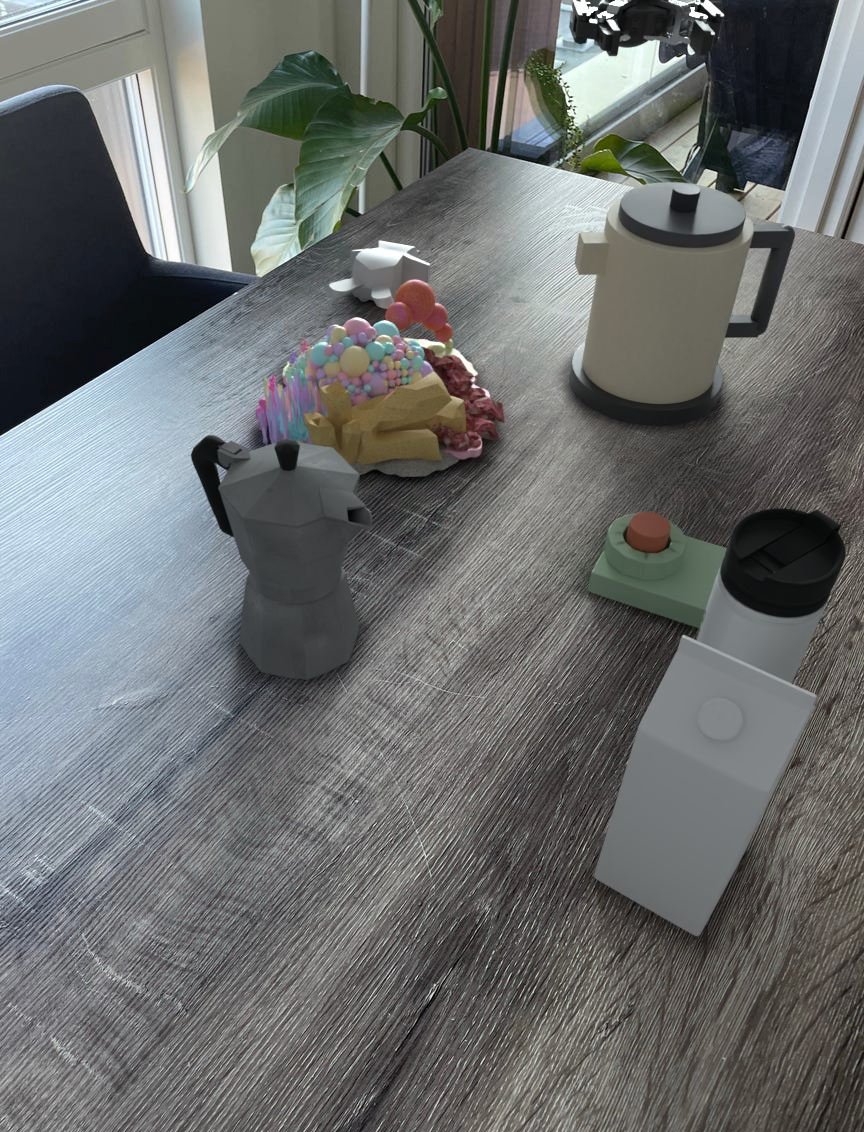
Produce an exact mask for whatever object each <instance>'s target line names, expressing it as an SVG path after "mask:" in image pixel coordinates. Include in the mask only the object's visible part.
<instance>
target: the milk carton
mask: <svg viewBox="0 0 864 1132" xmlns="http://www.w3.org/2000/svg"><path fill="white" fill-rule="evenodd" d="M817 698H818V695H817V694H815V693H814V692H811V691H809V690H806V689H804V688H802V687H800V686H798V685H795V684H793V683H792V684H791V683H789V682H787V681H785V680H783V679H780V678H778V677H776V676H774V675H771V674H769V673H767V672H765V671H763V670H760V669H758V668H756V667H754V666H752V665H749V664H747V663H745V662H743V661H741V660H738V659H736V658H734V657H732V656H730V655H727V654H725V653H723V652H721V651H719V650H716V649H714V648H712V647H710V646H708V645H705V644H703V643H701V642H699V641H697V640H696V639H694V638H692V637H691V636H688V635H685V634H683V635H682V636H681V637H680V641H679V643H678V647H677V650H676V652H675V654H674V656H673V658H672V660H671V662H670V664H669V666H668V668H667V670H666V671H665V674H664V676H663V677H662V680H661V681H660V683H659V685H658V687H657V689H656V691H655V693H654V695H653V696H652V699H651V701H650V703H649V705H648V707H647V709H646V711H645V712H644V715H643V716H642V718H641V720H640V722H639V724H638V725H637V731H636V734H635V737H634V739H633V744H632V748H631V750H630V753H629V757H628V761H627V764H626V767H625V771H624V774H623V777H622V780H621V784H620V787H619V789H618V794H617V796H616V800H615V804H614V807H613V811H612V813H611V817H610V820H609V824H608V827H607V830H606V834H605V837H604V839H603V843H602V847H601V850H600V854H599V857H598V860H597V864H596V867H595V870H594V874H593V877H594V879H596V880H597V881H598V882H600V883H602V884H604V885H605V886H607V887H609V888H611V889H612V890H613V891H616V892H618V893H619V894H621V895H623V896H624V897H626V898H628V899H630V900H632V901H633V902H635V903H636V904H638V905H640V906H641V907H643V908H645V909H647V910H649V911H651V912H652V913H654V914H656V915H657V916H659V917H661V918H663V919H665V920H666V921H668V922H669V923H671V924H673V925H675V926H676V927H678V928H680V929H682V930H684V931H685V932H688V933H689V934H690V935H693V936H695V937H699V936H701V934H702V933H703V930H704V929H705V927H706V926H707V923H708V921H709V919H710V918H711V916H712V914H713V912H714V910H715V908H716V907H717V904H718V903H719V901H720V899H721V897H722V896H723V894H724V892H725V890H726V888H727V886H728V884H729V882H730V881H731V879H732V877H733V875H734V873H735V872H736V869H737V868H738V866H739V864H740V862H741V860H742V859H743V856H744V855H745V853H746V852H747V851H746V850H747V849H748V846H749V845H750V842H751V841H752V838H753V836H754V835H755V832H756V830H757V828H758V826H759V824H760V822H761V820H762V817H763V816H764V813H765V811H766V809H767V807H768V805H769V803H770V801H771V799H772V797H773V795H774V793H775V790H776V789H777V786H778V785H779V782H780V781H781V779H782V777H783V774H784V772H785V770H786V768H787V767H788V764H789V761H790V760H791V757H792V755H793V754H794V751H795V749H796V747H797V746H798V743H799V741H800V739H801V738H802V735H803V733H804V731H805V728H806V726H807V724H808V722H809V720H810V718H811V716H812V714H813V713H814V710H815V708H816V705H814V704H815V702H816V700H817Z"/></svg>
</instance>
